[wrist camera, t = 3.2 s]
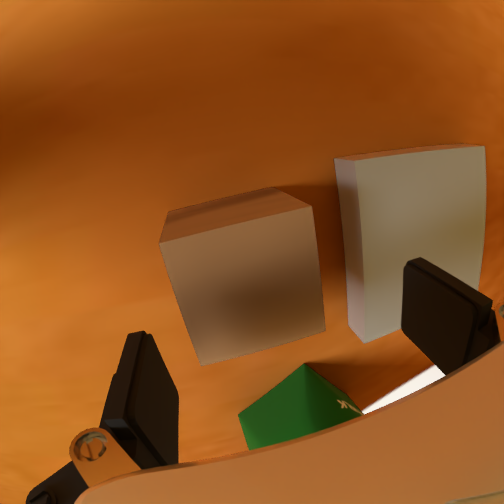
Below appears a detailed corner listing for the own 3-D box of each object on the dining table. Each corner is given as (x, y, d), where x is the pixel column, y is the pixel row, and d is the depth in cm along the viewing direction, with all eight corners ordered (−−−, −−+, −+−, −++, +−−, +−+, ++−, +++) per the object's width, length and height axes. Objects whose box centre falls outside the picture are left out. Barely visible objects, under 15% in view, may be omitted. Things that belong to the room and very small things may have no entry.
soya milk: (359, 392, 25) (472, 561, 6) (285, 446, 26) (355, 617, 7) (305, 348, 22) (450, 594, 3) (220, 416, 22) (278, 647, 4)
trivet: (333, 158, 17) (354, 160, 15) (461, 143, 19) (484, 145, 16) (348, 325, 22) (364, 343, 19) (459, 279, 23) (477, 290, 21)
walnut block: (168, 211, 17) (158, 243, 11) (272, 186, 17) (312, 205, 12) (195, 304, 19) (201, 366, 13) (288, 280, 20) (325, 330, 14)
